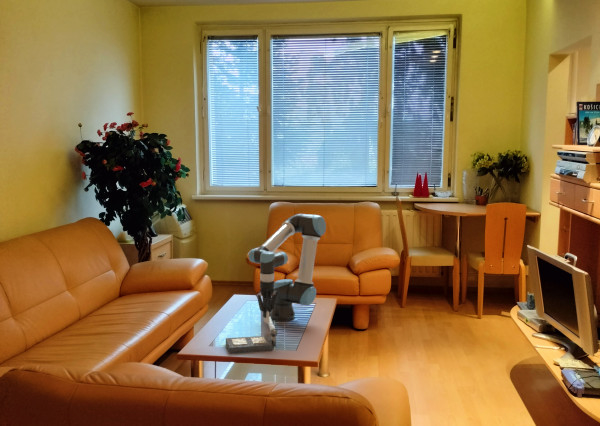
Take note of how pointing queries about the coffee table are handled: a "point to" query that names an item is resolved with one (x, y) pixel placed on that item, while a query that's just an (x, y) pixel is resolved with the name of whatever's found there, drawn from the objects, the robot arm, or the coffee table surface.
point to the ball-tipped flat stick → (272, 328)
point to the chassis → (250, 344)
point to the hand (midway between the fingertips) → (266, 322)
